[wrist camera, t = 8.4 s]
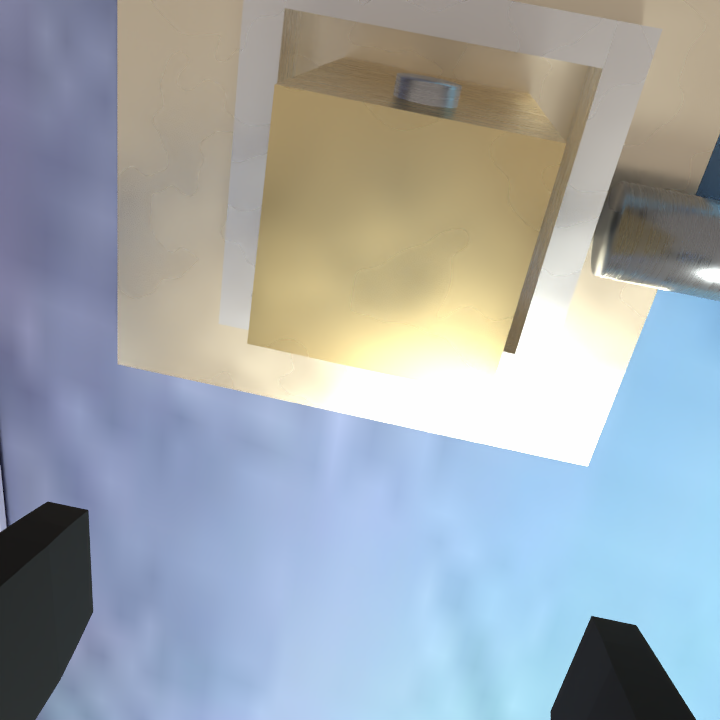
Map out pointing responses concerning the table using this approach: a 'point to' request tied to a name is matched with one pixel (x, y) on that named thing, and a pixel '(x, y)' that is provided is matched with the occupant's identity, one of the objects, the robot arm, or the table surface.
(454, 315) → the coupling block
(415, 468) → the table surface
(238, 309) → the cream square socket base
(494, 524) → the table surface
